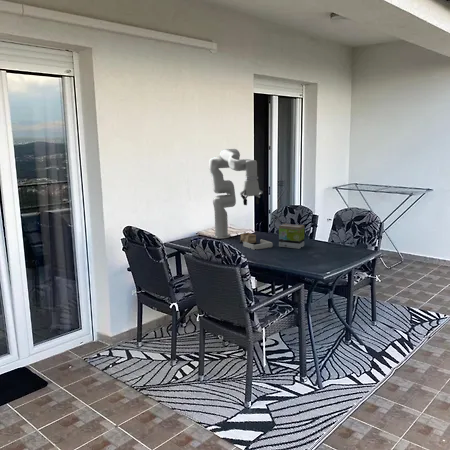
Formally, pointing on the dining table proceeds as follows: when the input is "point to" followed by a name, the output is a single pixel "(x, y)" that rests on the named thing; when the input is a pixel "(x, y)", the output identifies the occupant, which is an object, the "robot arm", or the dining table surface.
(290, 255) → the dining table surface
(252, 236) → the cart
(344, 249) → the dining table surface
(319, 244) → the dining table surface
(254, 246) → the bay
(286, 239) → the tea box
